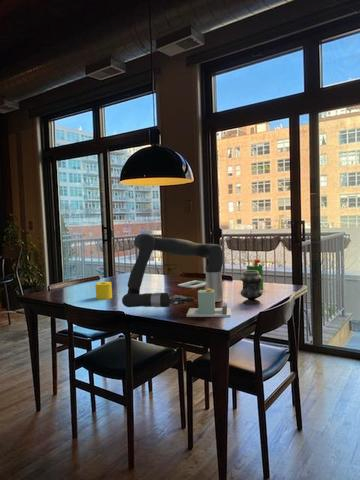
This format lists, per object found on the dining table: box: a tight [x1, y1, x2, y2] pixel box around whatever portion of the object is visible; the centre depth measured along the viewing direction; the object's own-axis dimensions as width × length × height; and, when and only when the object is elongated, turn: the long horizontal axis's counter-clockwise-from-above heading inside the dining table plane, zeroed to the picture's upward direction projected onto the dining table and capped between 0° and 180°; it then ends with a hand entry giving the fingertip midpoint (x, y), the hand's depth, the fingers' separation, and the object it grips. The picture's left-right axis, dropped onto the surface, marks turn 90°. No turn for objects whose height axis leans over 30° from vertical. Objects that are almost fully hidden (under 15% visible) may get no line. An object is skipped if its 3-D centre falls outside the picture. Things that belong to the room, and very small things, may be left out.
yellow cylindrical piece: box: [94, 281, 113, 301], centre depth 239 cm, size 10×10×9 cm
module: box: [197, 289, 216, 314], centre depth 191 cm, size 8×6×12 cm
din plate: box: [186, 302, 232, 318], centre depth 193 cm, size 22×12×5 cm, turn 81°
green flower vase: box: [246, 258, 264, 291], centre depth 246 cm, size 10×9×20 cm
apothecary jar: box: [239, 269, 263, 306], centre depth 210 cm, size 12×12×18 cm
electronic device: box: [177, 280, 206, 289], centre depth 268 cm, size 18×2×15 cm
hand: (193, 299), depth 192 cm, fingers closed
